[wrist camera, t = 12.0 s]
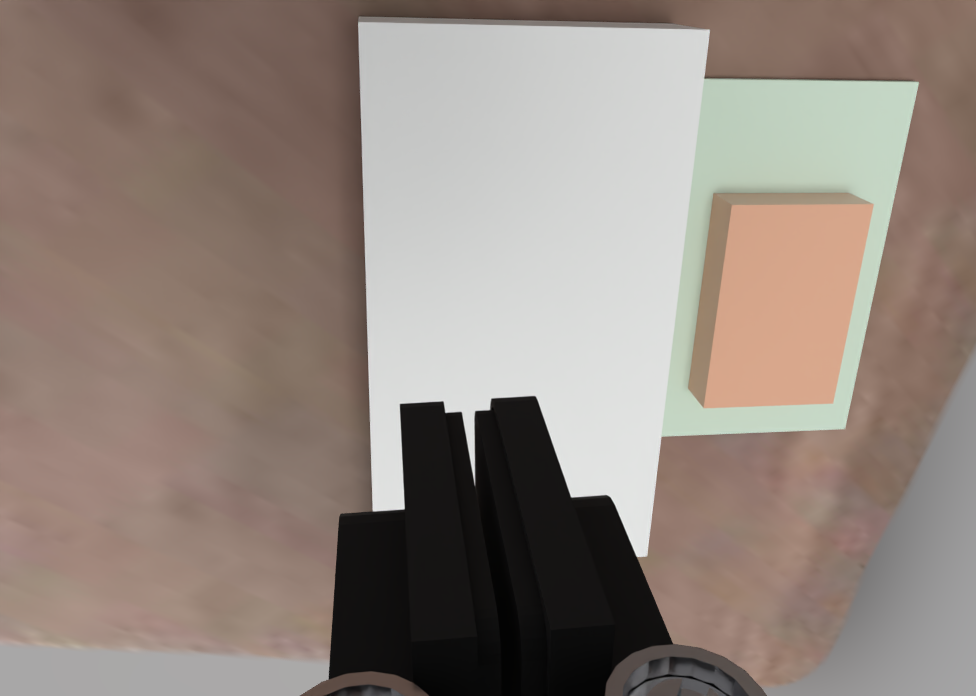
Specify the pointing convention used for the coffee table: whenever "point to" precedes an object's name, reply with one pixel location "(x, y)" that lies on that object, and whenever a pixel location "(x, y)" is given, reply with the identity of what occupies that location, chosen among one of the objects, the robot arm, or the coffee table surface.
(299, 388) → the coffee table surface
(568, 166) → the white flat block
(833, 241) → the tile
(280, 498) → the coffee table surface
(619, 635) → the robot arm
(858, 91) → the mat
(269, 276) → the coffee table surface
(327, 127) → the coffee table surface
